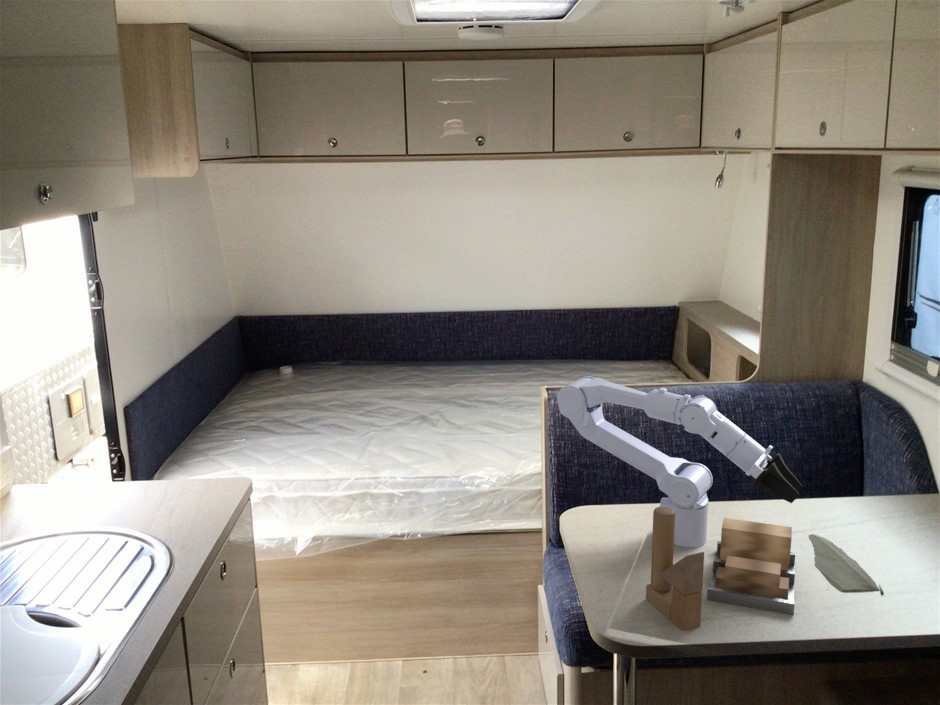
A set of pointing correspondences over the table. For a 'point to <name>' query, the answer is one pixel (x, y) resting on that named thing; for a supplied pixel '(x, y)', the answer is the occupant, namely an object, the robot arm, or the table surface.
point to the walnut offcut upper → (752, 571)
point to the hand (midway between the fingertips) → (797, 494)
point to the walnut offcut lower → (752, 586)
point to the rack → (753, 599)
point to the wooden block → (674, 575)
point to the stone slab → (840, 567)
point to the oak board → (756, 541)
